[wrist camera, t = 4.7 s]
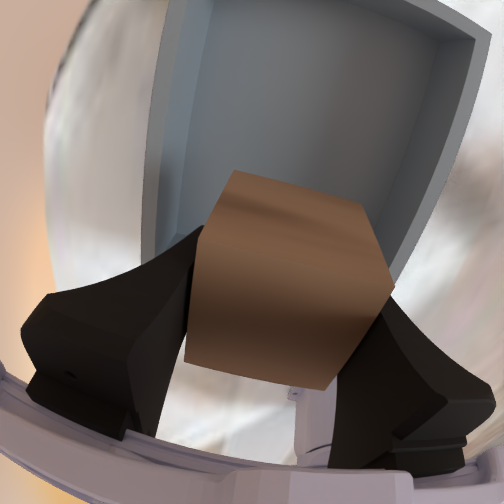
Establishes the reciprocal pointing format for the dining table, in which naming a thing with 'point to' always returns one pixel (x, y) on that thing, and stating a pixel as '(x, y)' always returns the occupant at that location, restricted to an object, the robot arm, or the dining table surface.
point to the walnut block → (283, 283)
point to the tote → (309, 108)
